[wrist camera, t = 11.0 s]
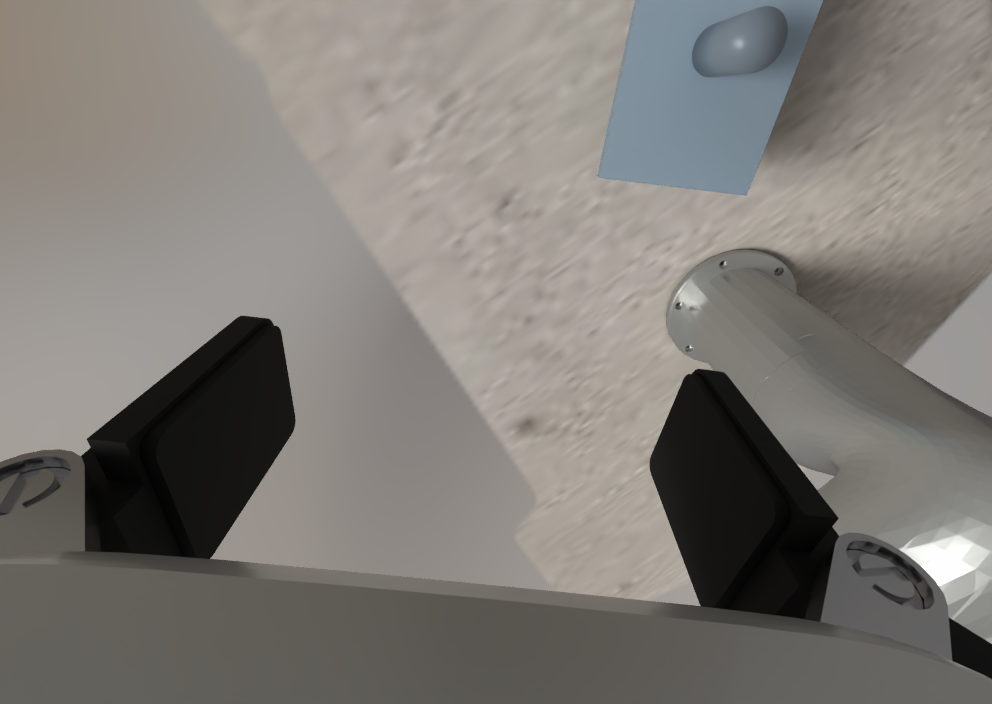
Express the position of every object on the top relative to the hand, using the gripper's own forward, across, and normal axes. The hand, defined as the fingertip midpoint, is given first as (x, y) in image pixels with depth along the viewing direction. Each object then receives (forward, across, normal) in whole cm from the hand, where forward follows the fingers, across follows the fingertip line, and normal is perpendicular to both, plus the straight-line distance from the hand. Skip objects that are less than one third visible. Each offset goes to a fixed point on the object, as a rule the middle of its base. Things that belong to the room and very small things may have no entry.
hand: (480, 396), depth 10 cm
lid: (+23, -11, -10) cm, 28 cm away
